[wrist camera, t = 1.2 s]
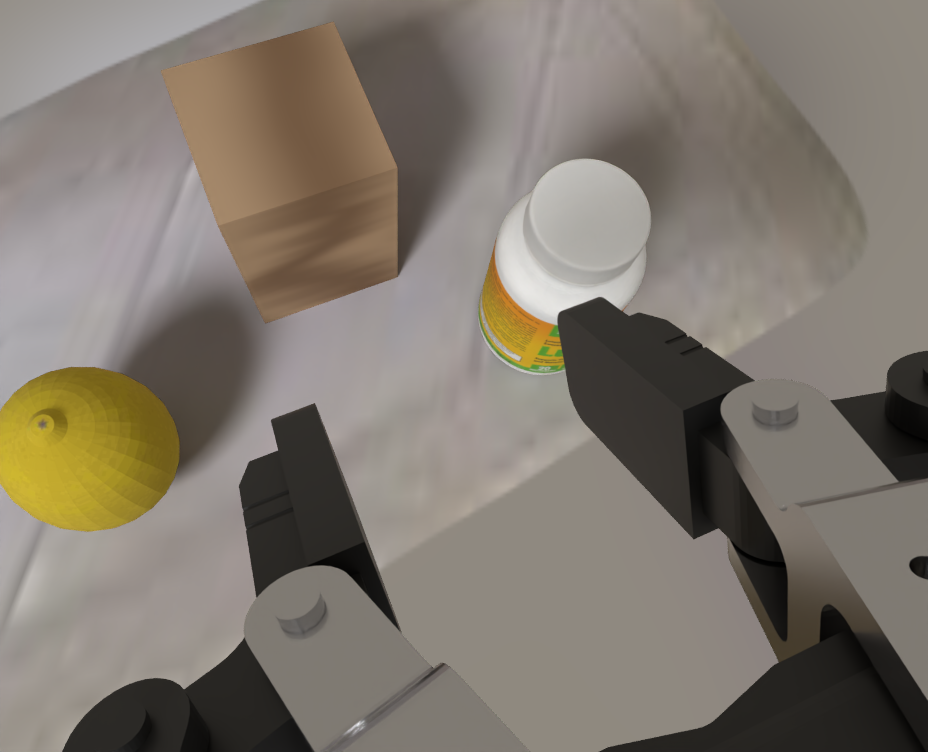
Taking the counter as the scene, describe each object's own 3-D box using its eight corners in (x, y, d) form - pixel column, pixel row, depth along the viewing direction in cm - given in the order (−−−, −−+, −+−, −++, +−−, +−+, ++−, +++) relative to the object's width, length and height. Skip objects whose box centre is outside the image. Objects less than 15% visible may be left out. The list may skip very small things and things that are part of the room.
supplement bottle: (523, 401, 33) (573, 323, 23) (452, 301, 34) (473, 187, 24) (622, 335, 34) (708, 237, 25) (551, 240, 35) (606, 111, 26)
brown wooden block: (265, 323, 33) (218, 226, 24) (220, 203, 34) (160, 70, 25) (397, 277, 34) (397, 167, 25) (349, 162, 35) (333, 21, 26)
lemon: (206, 528, 30) (141, 504, 23) (57, 548, 30) (-62, 531, 22) (198, 392, 32) (134, 327, 24) (56, 408, 31) (-56, 347, 23)
